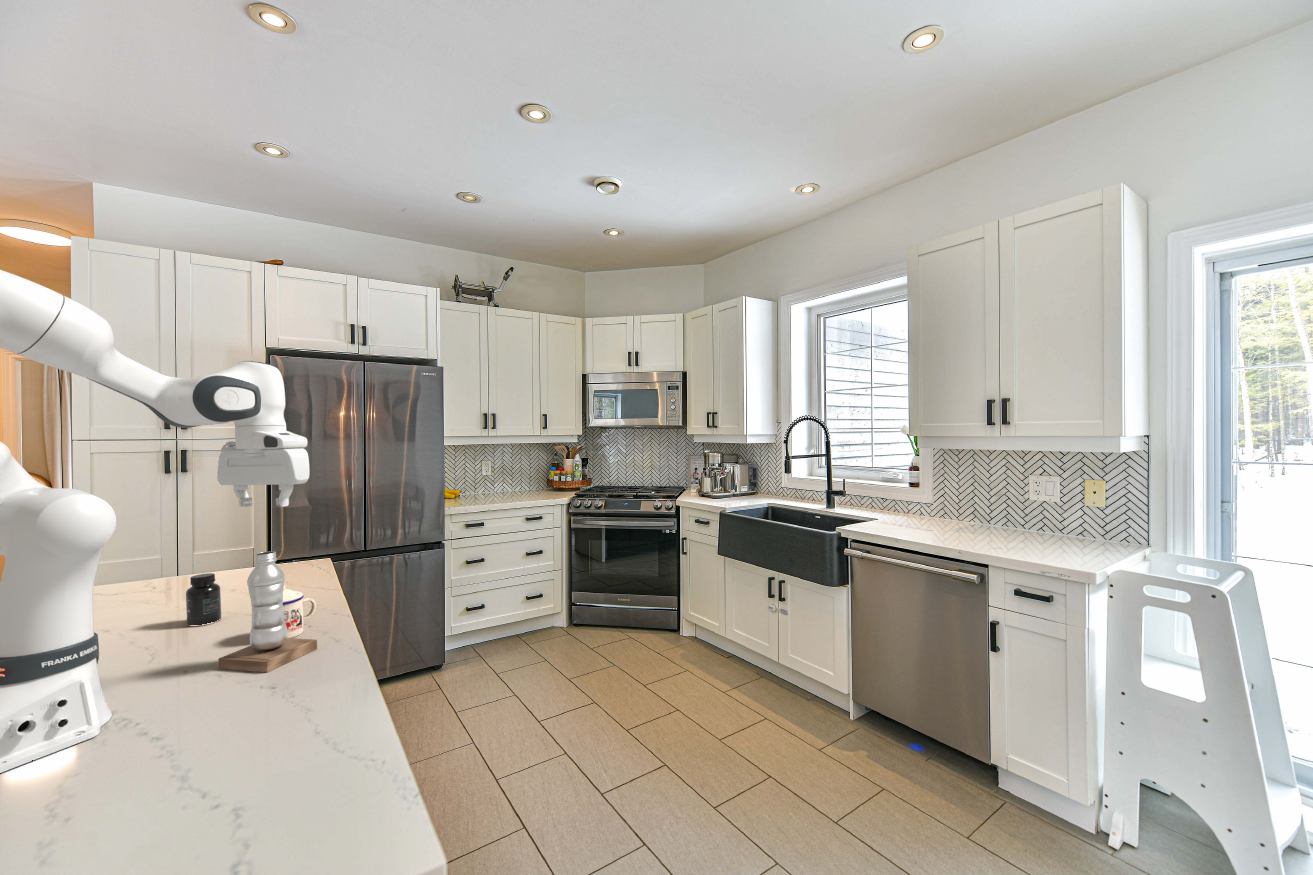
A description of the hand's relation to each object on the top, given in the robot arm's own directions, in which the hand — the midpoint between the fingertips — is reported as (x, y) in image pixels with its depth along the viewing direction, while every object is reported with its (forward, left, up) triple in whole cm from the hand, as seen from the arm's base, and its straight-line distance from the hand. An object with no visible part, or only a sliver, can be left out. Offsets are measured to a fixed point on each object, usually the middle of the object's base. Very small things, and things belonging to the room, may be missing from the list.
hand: (263, 506), depth 117 cm
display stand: (0, 0, -32) cm, 32 cm away
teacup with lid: (+13, +9, -32) cm, 36 cm away
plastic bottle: (0, 0, -30) cm, 30 cm away
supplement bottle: (+17, +39, -32) cm, 53 cm away
